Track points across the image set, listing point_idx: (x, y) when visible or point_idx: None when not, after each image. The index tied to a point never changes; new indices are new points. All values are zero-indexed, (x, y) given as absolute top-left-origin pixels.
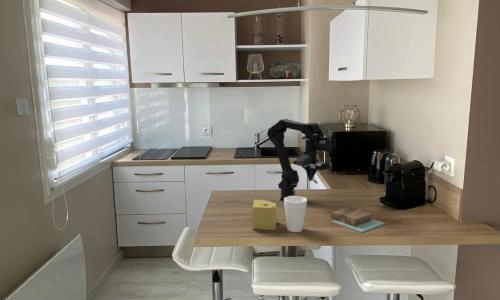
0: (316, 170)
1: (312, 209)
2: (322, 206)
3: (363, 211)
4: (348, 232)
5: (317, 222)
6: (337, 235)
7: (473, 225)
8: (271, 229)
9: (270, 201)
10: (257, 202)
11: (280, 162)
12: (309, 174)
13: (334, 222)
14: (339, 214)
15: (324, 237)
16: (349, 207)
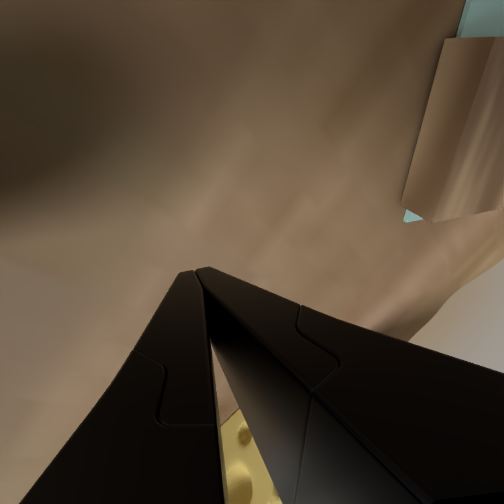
0: (431, 384)
1: (222, 181)
2: (211, 52)
3: None
4: (483, 235)
5: (361, 273)
6: (459, 279)
7: None
8: None
9: (275, 500)
10: None
11: None
12: (251, 424)
13: (419, 218)
14: (467, 213)
15: (433, 316)
16: (499, 61)
